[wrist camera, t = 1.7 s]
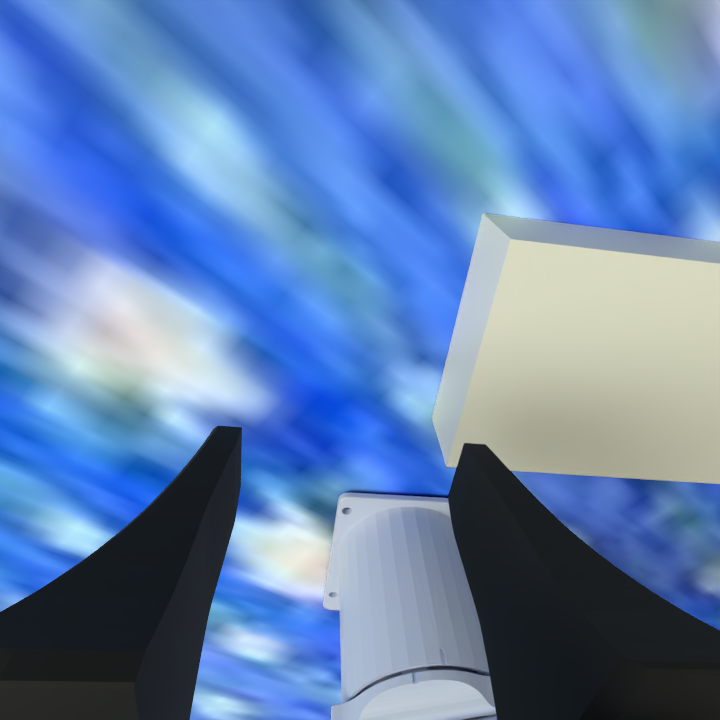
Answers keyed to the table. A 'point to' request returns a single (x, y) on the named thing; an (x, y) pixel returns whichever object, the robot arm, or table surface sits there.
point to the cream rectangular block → (586, 353)
